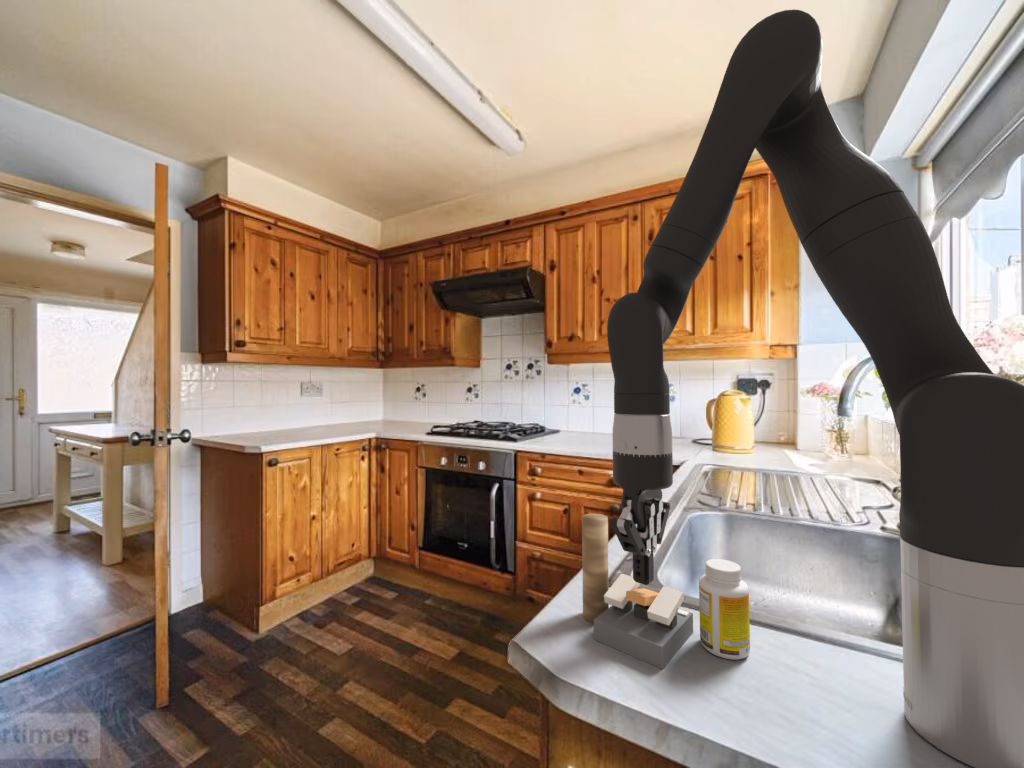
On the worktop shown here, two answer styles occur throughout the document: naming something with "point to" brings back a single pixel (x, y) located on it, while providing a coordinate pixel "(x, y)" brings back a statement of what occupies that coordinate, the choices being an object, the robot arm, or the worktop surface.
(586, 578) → the pine post
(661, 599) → the paddle near bottle
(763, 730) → the worktop surface
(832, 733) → the worktop surface
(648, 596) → the paddle middle
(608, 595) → the paddle near post
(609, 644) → the board
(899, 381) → the robot arm
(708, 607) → the supplement bottle
